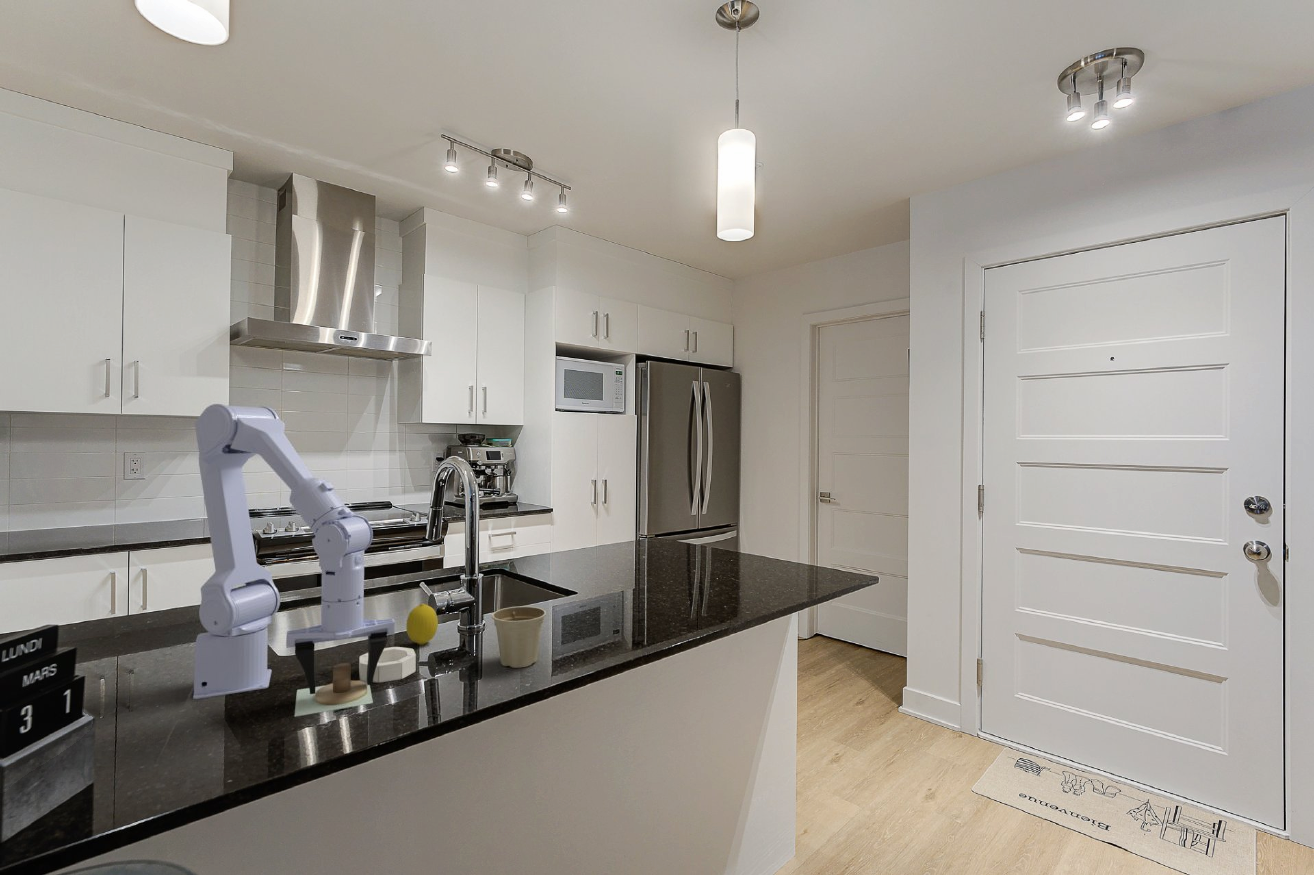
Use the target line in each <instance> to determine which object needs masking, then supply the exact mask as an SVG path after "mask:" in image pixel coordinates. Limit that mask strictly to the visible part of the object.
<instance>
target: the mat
mask: <svg viewBox="0 0 1314 875" xmlns="http://www.w3.org/2000/svg"><path fill="white" fill-rule="evenodd" d="M357 681H361V682H364V683H366V684H367V680H360V679H358V680H357ZM324 686H325V685H320V686H315V693H316V691H317V690H319V689H320V688H322V687H324ZM371 690H372V689H371V685H367V693H366V695H365V696H363V697H362V698H360V699H358V700H355V701H353V702H349V703H345V704H339V705H323V704H319V703H317V702H316V700H315V694H310V689H309V687H306V688H300V689H297V690H296V697H295V698H296V699H295V706H294V707H295V709H294V717H295V718H297V717H301V716H308V715H314V714H318V713H319V714H320V713H324V712H330V711H336V710H341V709H342V710H343V709H348V708H353V707H358V706H363V705H364V706H365V705H370V704H373V703H374V700H373V697H372V696H373V695H372V691H371Z"/></svg>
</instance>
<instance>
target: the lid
mask: <svg viewBox="0 0 1314 875" xmlns="http://www.w3.org/2000/svg"><path fill="white" fill-rule="evenodd" d="M351 668H352V664H351V663H348V662H347V663H346V662H345V663H344V662H343V663H337V664H335V665H333V666H332V683H329V684H326V685H323V686H324V687H322V688H320V689H319V690H317V691H316V693H315V700H316V702H317V703H319V704H323V705H339V704H345V703H349V702H353V701H355V700H358V699H360V698H362V697H363V696H365V695H366V693H367V684H366V683H364V682H361V681H358V680H351V677H352V676H351V674H352V672H351V670H352V669H351Z"/></svg>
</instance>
